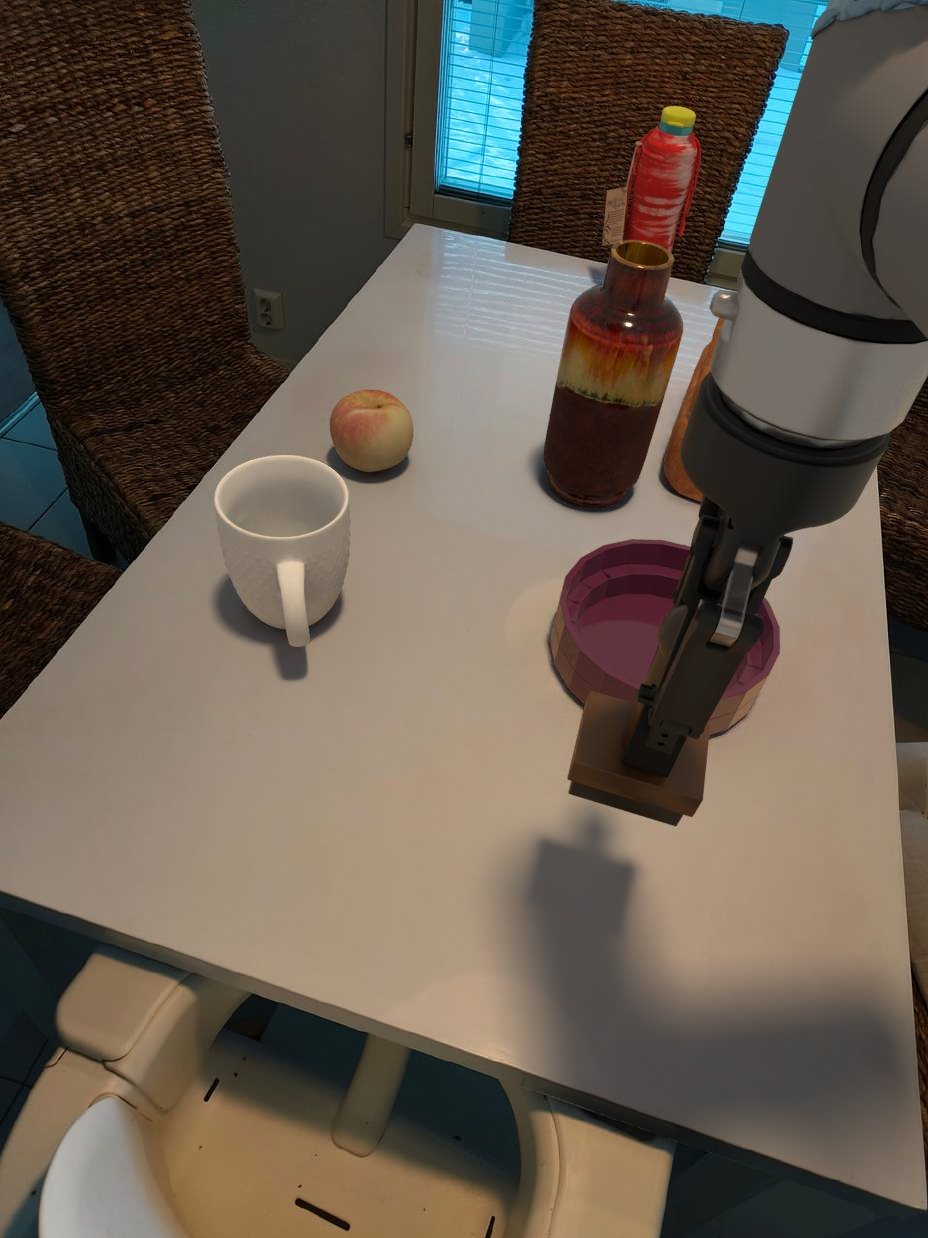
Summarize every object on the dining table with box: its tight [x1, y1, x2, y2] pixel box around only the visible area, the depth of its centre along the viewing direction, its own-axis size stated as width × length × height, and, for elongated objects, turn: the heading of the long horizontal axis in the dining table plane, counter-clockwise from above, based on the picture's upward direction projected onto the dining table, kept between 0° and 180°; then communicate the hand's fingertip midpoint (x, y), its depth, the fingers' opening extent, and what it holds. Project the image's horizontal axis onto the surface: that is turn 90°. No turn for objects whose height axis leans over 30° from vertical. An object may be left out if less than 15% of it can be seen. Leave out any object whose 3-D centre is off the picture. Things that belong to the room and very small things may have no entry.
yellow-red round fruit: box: [329, 389, 414, 473], centre depth 92 cm, size 9×9×8 cm
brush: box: [567, 604, 710, 827], centre depth 48 cm, size 8×6×15 cm
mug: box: [213, 454, 351, 648], centre depth 73 cm, size 15×11×13 cm
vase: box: [542, 240, 684, 509], centre depth 86 cm, size 11×11×26 cm
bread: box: [662, 317, 725, 503], centre depth 98 cm, size 14×26×16 cm, turn 160°
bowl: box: [549, 538, 781, 736], centre depth 76 cm, size 19×19×6 cm
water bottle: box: [601, 105, 702, 254], centre depth 120 cm, size 12×8×25 cm, turn 74°
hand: (650, 741), depth 50 cm, fingers closed on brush, 3 cm apart
